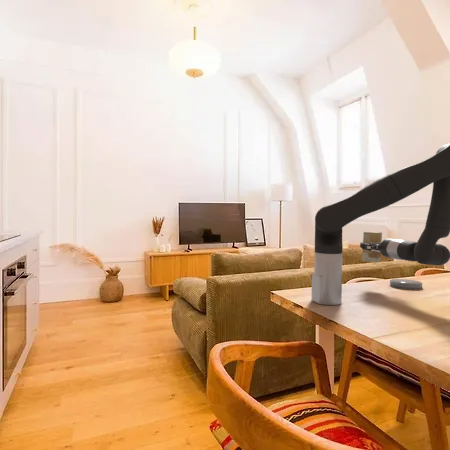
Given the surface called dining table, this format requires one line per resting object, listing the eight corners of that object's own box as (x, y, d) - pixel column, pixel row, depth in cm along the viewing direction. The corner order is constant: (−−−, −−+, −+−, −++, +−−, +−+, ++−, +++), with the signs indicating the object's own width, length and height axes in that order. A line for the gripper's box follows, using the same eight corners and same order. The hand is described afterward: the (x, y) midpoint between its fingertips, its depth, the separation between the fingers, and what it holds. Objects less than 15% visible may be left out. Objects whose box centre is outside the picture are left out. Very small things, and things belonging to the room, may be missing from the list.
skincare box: (361, 260, 142) (362, 231, 142) (366, 259, 145) (366, 231, 145) (377, 262, 138) (378, 232, 137) (381, 261, 141) (382, 232, 140)
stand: (403, 290, 136) (403, 285, 136) (383, 284, 148) (383, 279, 148) (429, 289, 139) (429, 284, 138) (407, 282, 150) (407, 278, 150)
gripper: (413, 238, 129) (383, 236, 145) (379, 239, 126) (353, 236, 142) (412, 258, 129) (383, 253, 145) (379, 259, 126) (353, 254, 142)
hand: (368, 245), depth 143 cm, fingers closed on skincare box, 6 cm apart
